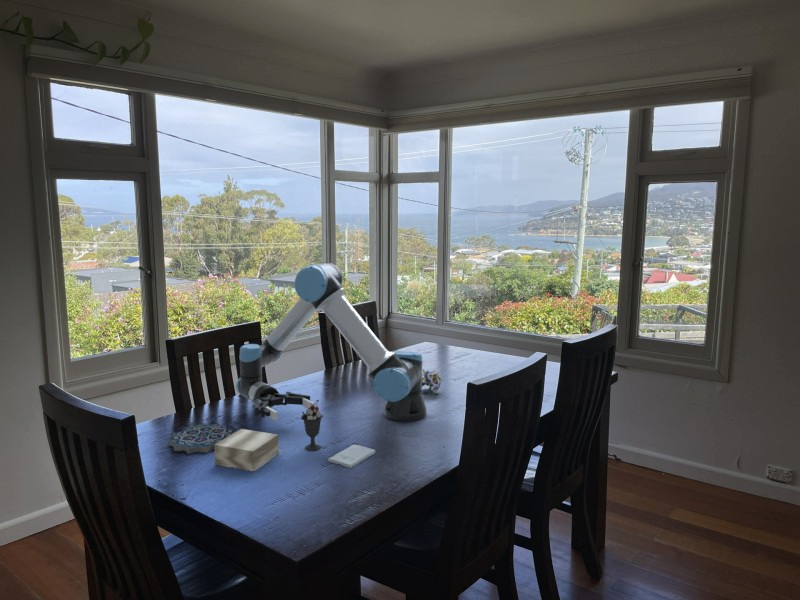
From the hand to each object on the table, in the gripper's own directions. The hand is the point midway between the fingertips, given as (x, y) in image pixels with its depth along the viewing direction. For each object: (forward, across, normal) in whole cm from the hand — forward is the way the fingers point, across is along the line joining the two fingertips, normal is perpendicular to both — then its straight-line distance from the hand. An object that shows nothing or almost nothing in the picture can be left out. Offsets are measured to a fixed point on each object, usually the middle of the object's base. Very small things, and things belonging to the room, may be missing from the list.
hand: (295, 411), depth 184 cm
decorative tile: (-17, +24, -10) cm, 30 cm away
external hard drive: (+23, -6, -10) cm, 25 cm away
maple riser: (+5, +19, -9) cm, 22 cm away
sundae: (+10, 0, -9) cm, 13 cm away
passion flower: (-8, -65, -9) cm, 66 cm away
